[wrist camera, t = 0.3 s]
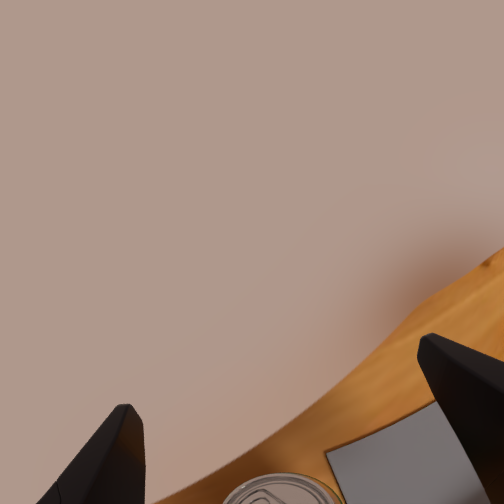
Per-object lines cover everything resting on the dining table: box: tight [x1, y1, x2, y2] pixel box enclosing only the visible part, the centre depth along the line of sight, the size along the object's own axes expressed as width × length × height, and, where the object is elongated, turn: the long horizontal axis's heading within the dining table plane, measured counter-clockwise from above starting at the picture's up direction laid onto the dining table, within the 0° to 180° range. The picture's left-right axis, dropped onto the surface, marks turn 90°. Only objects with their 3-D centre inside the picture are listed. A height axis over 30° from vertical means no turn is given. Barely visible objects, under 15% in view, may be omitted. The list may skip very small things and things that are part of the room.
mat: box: [326, 401, 491, 504], centre depth 15 cm, size 12×12×1 cm
